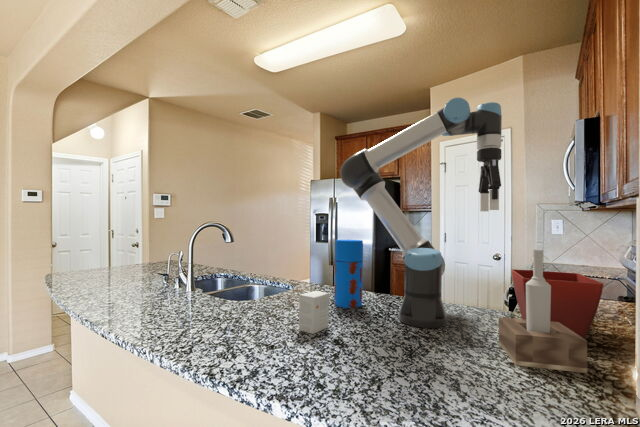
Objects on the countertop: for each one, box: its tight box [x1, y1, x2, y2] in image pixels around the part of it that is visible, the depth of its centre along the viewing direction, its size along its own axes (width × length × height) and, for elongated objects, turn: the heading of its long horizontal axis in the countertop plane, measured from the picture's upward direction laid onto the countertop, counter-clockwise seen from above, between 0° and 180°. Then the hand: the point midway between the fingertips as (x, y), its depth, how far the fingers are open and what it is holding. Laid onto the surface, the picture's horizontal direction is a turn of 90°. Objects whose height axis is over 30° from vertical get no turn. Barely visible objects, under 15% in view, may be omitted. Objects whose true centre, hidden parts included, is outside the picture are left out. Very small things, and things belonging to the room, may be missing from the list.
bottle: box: [526, 249, 551, 333], centre depth 81 cm, size 5×5×25 cm
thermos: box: [334, 239, 364, 309], centre depth 129 cm, size 11×11×25 cm
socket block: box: [498, 316, 588, 374], centre depth 81 cm, size 14×14×7 cm
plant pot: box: [511, 268, 604, 339], centre depth 101 cm, size 19×19×17 cm
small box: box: [298, 290, 330, 335], centre depth 99 cm, size 8×6×10 cm
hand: (488, 210), depth 113 cm, fingers open, 13 cm apart
